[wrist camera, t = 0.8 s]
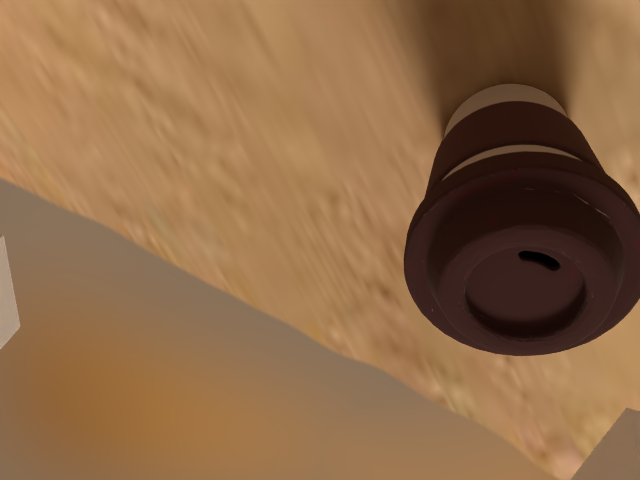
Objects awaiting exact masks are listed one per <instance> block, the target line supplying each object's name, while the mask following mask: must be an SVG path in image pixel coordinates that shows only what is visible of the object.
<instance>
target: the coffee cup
mask: <svg viewBox="0 0 640 480" xmlns="http://www.w3.org/2000/svg"><path fill="white" fill-rule="evenodd" d="M404 274H405V279H406V283H407V286H408V289H409V292H410V294H411V296H412V298H413V300H414V302H415V303H416V305H417V307H418V308H419V310H420V311H421V313H422V314H423V315H424V316H425V317H426V318H427V319H428V320H429V321H430V322H431V323H432V324H433V325H434V326H436V327H437V328H438V329H439V330H441V331H442V332H443V333H444V334H446V335H448V336H450V337H452V338H453V339H455V340H457V341H459V342H460V343H463V344H465V345H468V346H470V347H473V348H476V349H479V350H483V351H487V352H491V353H495V354H503V355H512V356H532V355H545V354H551V353H556V352H560V351H564V350H568V349H571V348H574V347H577V346H579V345H582V344H585V343H588V342H590V341H592V340H594V339H596V338H597V337H599V336H601V335H602V334H604V333H605V332H607V331H608V330H610V329H611V328H613V327H614V326H615V325H616V324H618V323H619V322H620V321H621V320H622V319H623V318H624V317H625V316H626V315H627V314H628V313H629V312H630V311H631V310H632V308H633V307H634V305H635V304H636V303H637V301H638V300H639V298H640V214H639V212H638V210H637V208H636V206H635V204H634V202H633V201H632V199H631V198H630V196H629V195H628V194H627V192H626V191H625V190H624V189H623V188H622V187H621V186H620V185H619V184H618V183H617V182H616V181H614V180H613V179H612V178H611V177H610V176H608V175H607V174H606V173H605V171H604V170H603V168H602V166H601V164H600V163H599V161H598V159H597V158H596V156H595V154H594V153H593V151H592V149H591V147H590V146H589V144H588V142H587V141H586V139H585V137H584V136H583V134H582V132H581V131H580V130H579V129H578V127H577V126H576V125H575V124H574V123H573V122H572V121H571V120H570V119H569V118H568V116H567V115H566V113H565V111H564V110H563V108H562V107H561V106H560V105H559V103H558V102H557V101H556V100H555V99H554V98H552V97H551V96H550V95H548V94H547V93H545V92H544V91H541V90H539V89H537V88H534V87H531V86H528V85H521V84H501V85H496V86H492V87H489V88H486V89H484V90H482V91H479V92H477V93H476V94H474V95H473V96H471V97H470V98H468V99H467V100H466V101H465V102H463V103H462V104H461V105H460V106H459V108H458V109H457V110H456V111H455V112H454V114H453V115H452V117H451V119H450V121H449V123H448V125H447V127H446V131H445V134H444V139H443V141H442V142H441V144H440V146H439V148H438V151H437V153H436V156H435V159H434V163H433V167H432V171H431V175H430V179H429V182H428V186H427V190H426V194H425V198H424V200H423V201H422V202H421V204H420V205H419V207H418V209H417V210H416V212H415V214H414V216H413V219H412V221H411V223H410V226H409V230H408V233H407V239H406V246H405V253H404Z"/></svg>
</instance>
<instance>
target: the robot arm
mask: <svg viewBox="0 0 640 480" xmlns="http://www.w3.org/2000/svg"><path fill="white" fill-rule="evenodd" d="M19 328H20V322H19V317H18V311H17V306H16V300H15V295H14V289H13V284H12V278H11V273H10V268H9V263H8V257H7V251H6V246H5V240H4V235H1V234H0V349H1V348H2V347H3V346H4V345H5V344H6V342H7V341H8V340H9V339H10V338H11V337H12V336H13V335H14V333H15V332H16V331H17V330H18V329H19ZM571 480H640V411H636V410H633V409H629V408H626V409H625V410H624V412H623V413H622V414H621V416H620V417H619V418H618V419H617V421H616V422H615V423H614V424H613V426H612V427H611V428H610V430H609V431H608V432H607V433H606V435H605V436H604V437H603V439H602V440H601V441H600V442H599V444H598V445H597V446H596V448H595V449H594V450H593V451H592V453H591V454H590V455H589V457H588V458H587V459H586V460H585V462H584V463H583V464H582V466H581V467H580V468H579V469H578V471H577V472H576V473H575V474H574V476H573V477H572V478H571Z"/></svg>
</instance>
